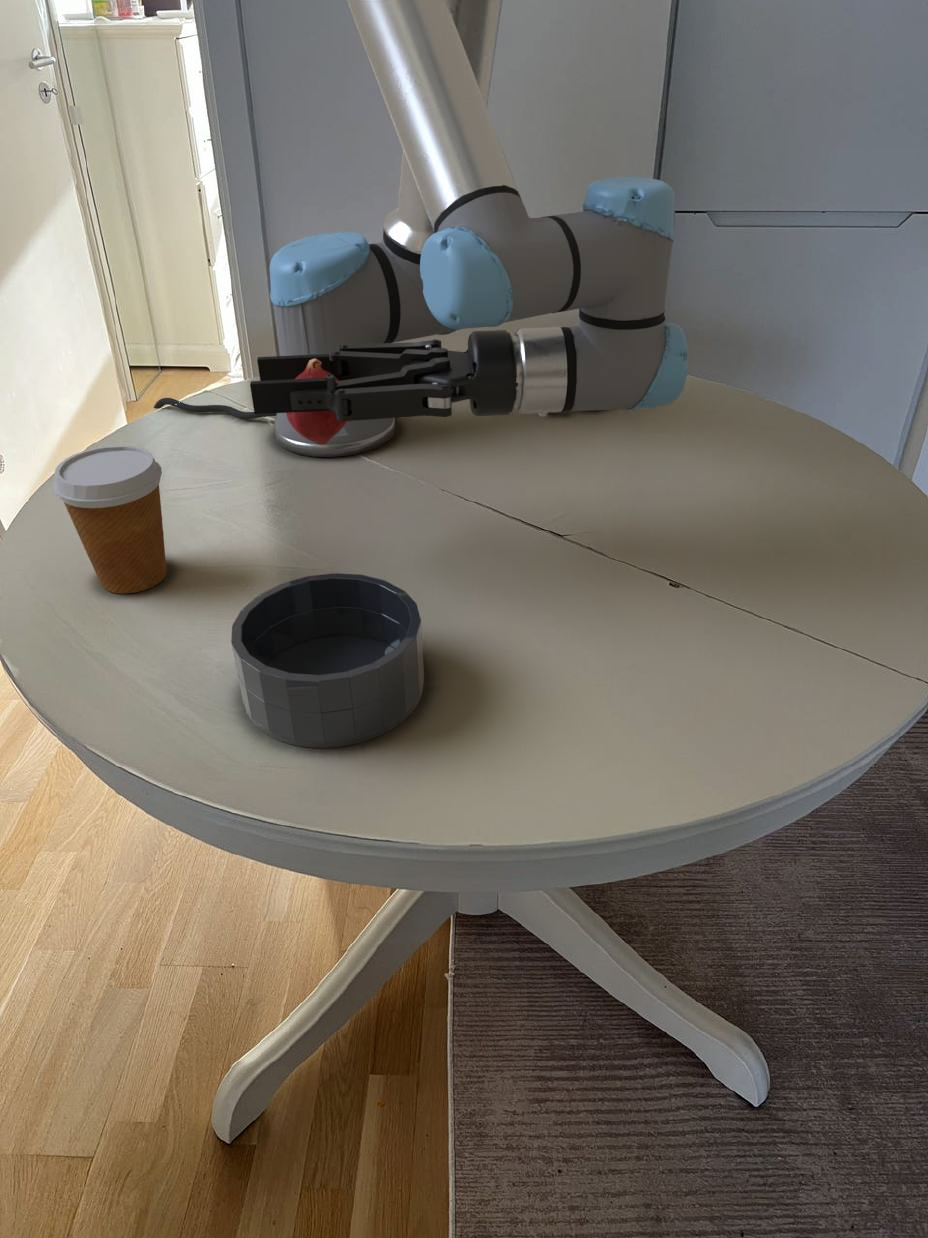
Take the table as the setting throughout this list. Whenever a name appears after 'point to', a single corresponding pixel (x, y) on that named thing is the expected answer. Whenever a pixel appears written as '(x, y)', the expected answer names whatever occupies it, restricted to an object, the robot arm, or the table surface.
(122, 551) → the disposable coffee cup
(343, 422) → the onion
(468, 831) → the table surface
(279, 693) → the pot
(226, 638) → the table surface
